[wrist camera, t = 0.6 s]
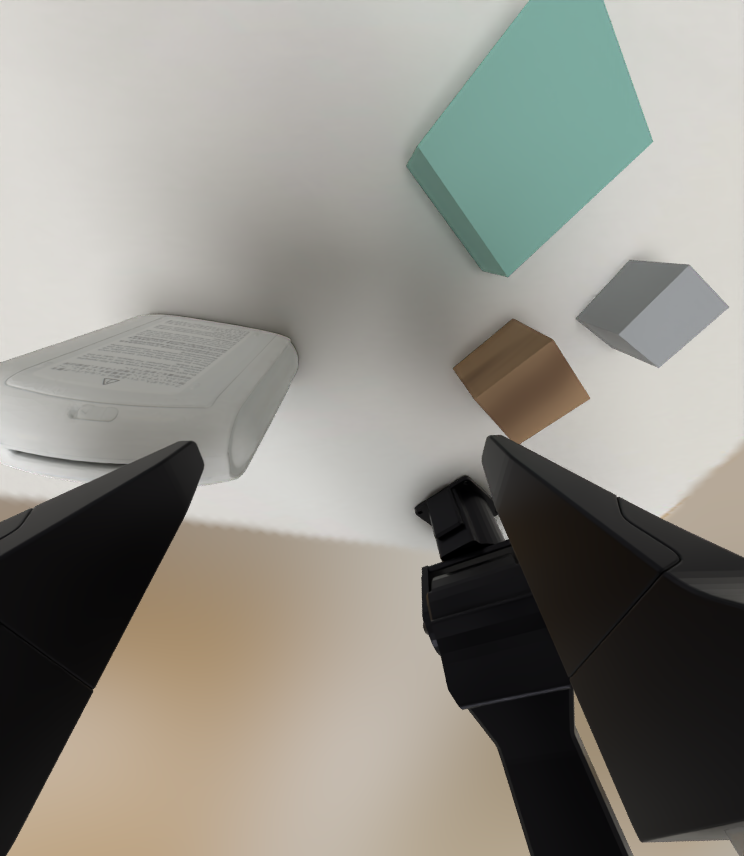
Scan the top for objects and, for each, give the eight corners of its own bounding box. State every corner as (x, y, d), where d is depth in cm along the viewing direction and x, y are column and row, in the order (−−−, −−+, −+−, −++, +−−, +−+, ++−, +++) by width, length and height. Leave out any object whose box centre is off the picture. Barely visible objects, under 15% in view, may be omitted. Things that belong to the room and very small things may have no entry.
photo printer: (152, 368, 21) (-58, 496, 10) (136, 305, 18) (-153, 388, 8) (298, 388, 22) (241, 522, 12) (300, 331, 20) (231, 434, 9)
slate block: (665, 295, 19) (729, 307, 16) (611, 347, 21) (658, 367, 18) (628, 259, 18) (689, 264, 15) (575, 318, 20) (618, 334, 16)
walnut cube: (546, 367, 22) (590, 398, 17) (488, 409, 23) (516, 446, 19) (512, 318, 20) (553, 339, 15) (452, 368, 21) (474, 399, 17)
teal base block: (590, 163, 15) (653, 141, 12) (480, 270, 18) (507, 277, 15) (522, 15, 13) (579, -66, 9) (405, 166, 15) (417, 145, 12)
